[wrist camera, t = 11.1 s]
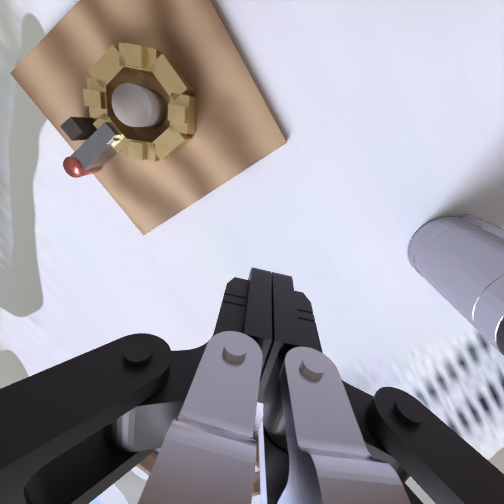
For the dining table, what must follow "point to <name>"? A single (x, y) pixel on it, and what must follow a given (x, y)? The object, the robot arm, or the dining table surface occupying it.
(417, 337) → the dining table surface
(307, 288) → the dining table surface
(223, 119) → the jig board
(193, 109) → the gold ring with lever
